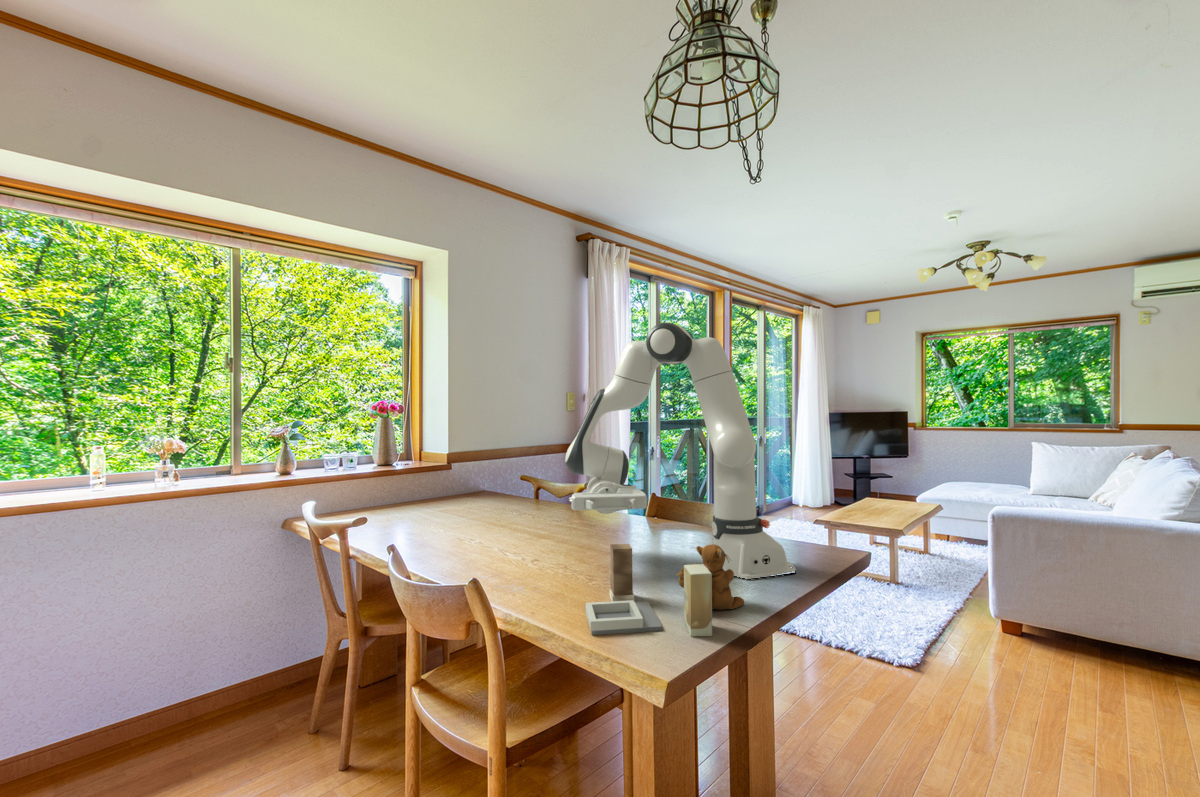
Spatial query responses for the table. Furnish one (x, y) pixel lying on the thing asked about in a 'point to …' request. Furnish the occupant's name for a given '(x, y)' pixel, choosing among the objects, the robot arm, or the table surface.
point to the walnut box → (621, 572)
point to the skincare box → (698, 600)
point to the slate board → (621, 617)
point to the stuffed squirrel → (717, 577)
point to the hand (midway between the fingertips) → (612, 506)
